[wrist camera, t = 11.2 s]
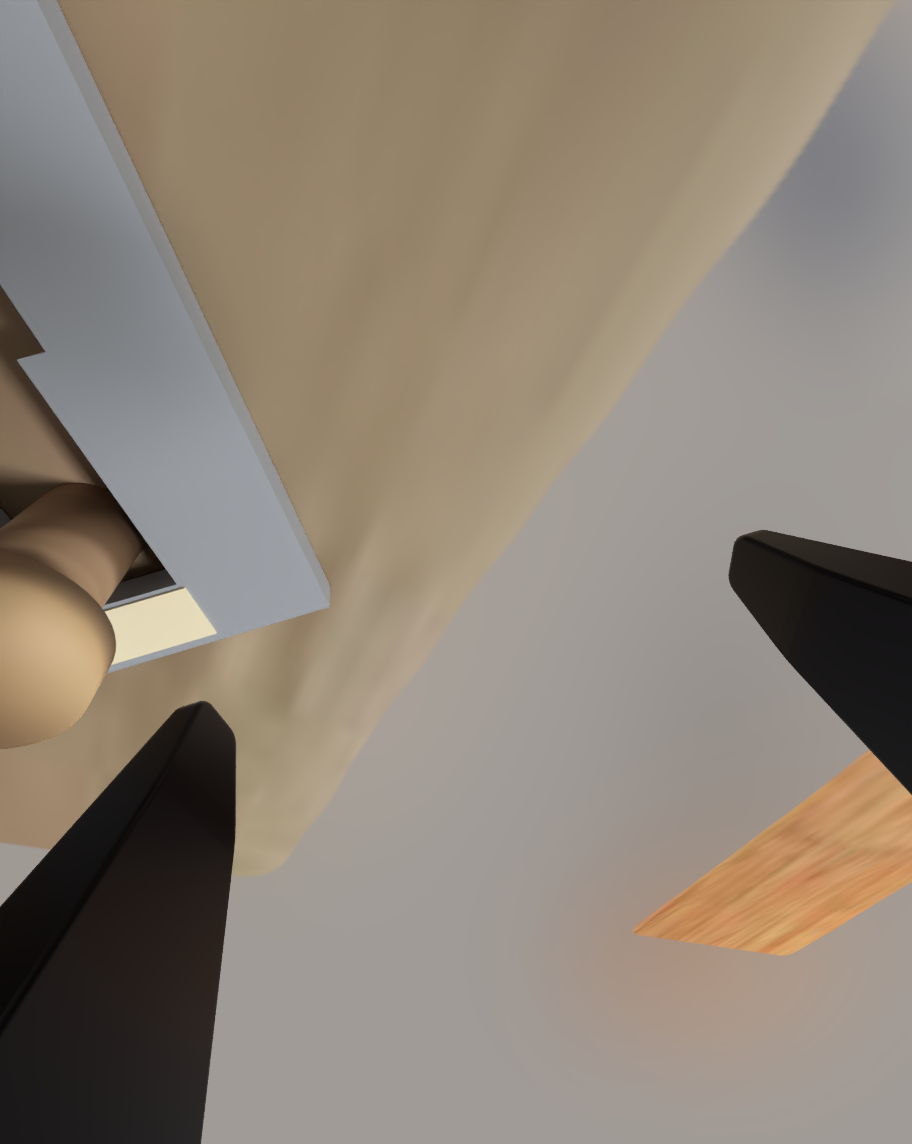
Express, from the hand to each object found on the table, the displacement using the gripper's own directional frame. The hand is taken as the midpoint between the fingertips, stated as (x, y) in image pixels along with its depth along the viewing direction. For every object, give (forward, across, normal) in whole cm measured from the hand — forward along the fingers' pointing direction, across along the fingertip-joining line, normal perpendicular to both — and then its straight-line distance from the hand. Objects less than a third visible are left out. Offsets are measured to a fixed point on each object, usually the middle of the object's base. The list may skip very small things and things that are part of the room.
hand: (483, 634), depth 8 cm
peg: (+12, +12, 0) cm, 17 cm away
